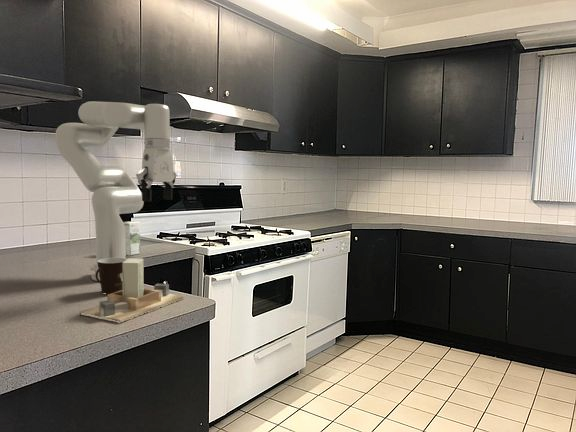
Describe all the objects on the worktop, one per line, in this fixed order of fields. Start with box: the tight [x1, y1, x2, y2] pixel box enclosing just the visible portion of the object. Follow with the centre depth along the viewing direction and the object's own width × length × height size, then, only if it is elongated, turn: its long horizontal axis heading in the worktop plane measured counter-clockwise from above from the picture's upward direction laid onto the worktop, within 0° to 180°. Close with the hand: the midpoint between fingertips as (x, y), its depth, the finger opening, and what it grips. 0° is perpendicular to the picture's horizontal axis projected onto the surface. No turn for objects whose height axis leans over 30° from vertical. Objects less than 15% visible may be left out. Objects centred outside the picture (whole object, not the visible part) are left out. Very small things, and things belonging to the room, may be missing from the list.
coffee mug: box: [96, 258, 128, 294], centre depth 144 cm, size 12×9×10 cm
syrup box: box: [123, 220, 141, 257], centre depth 208 cm, size 6×6×14 cm
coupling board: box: [79, 283, 184, 322], centre depth 131 cm, size 14×25×4 cm, turn 155°
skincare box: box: [123, 257, 145, 298], centre depth 131 cm, size 6×4×12 cm
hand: (157, 200), depth 148 cm, fingers open, 9 cm apart
